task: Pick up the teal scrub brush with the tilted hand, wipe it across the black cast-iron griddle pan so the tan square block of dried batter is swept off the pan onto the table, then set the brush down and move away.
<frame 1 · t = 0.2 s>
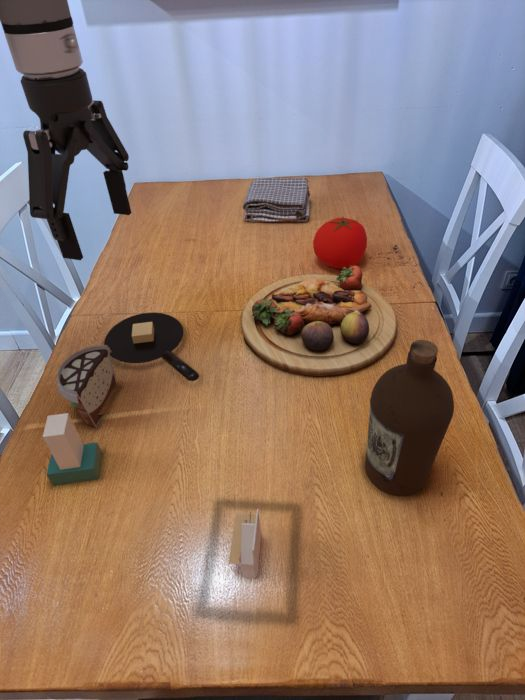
hand: (99, 234, 72), 31 cm above the table, tool pointing down, fingers open, 13 cm apart
pan: (145, 341, 101), on the table
towel: (278, 213, 142), on the table
tomato: (339, 263, 120), on the table
architectural model: (251, 557, 66), on the table
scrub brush: (78, 469, 78), on the table
brown bottle: (394, 470, 75), on the table
tan square block: (144, 336, 100), point 1 cm above the table, touching pan
wooden plate: (317, 325, 102), on the table
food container: (92, 406, 88), on the table
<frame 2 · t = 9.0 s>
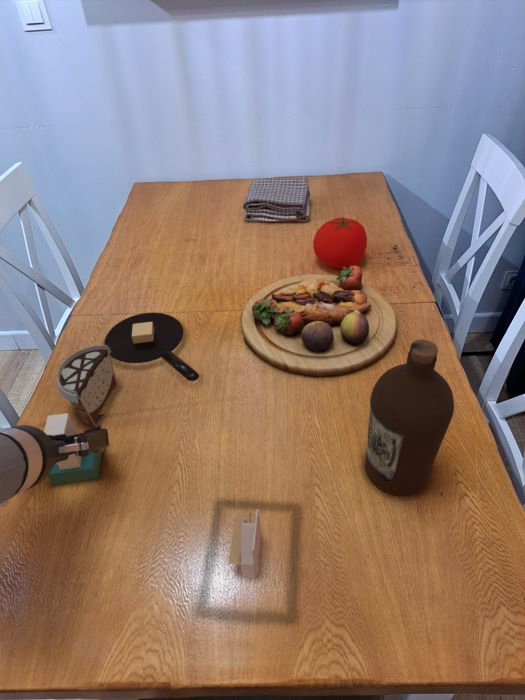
hand: (74, 438, 78), 4 cm above the table, tool tilted 45°, fingers closed on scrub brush, 7 cm apart
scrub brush: (78, 469, 78), on the table, touching gripper
everything else where it was.
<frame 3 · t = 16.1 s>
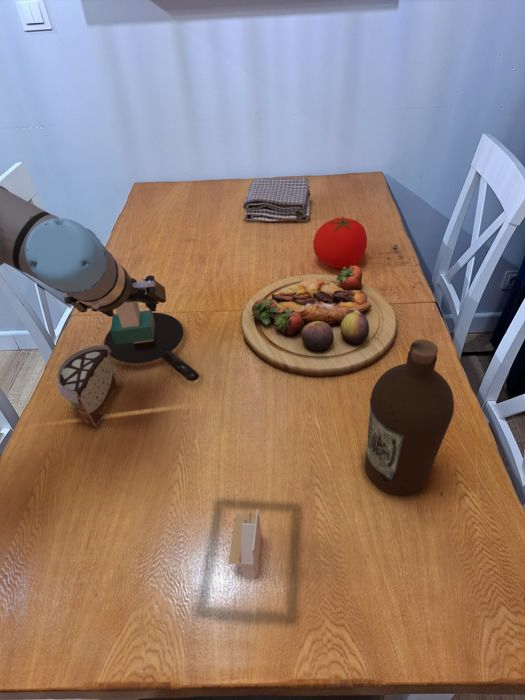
hand: (131, 306, 90), 12 cm above the table, tool tilted 45°, fingers closed on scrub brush, 7 cm apart
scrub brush: (135, 333, 89), point 8 cm above the table, touching gripper
everything else where it was.
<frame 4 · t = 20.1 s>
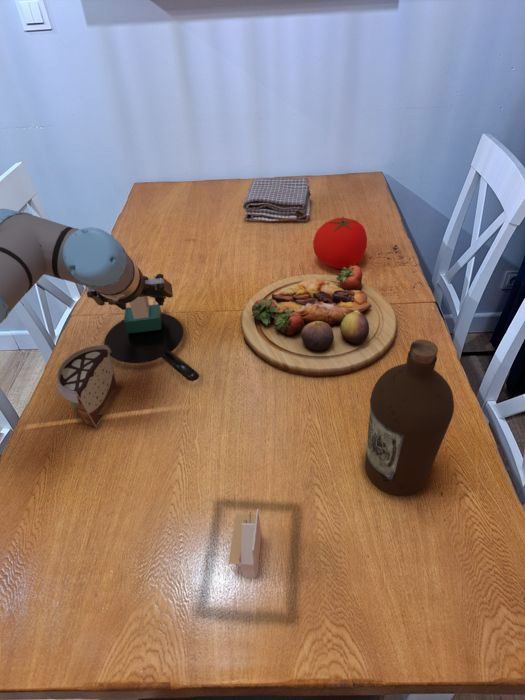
hand: (142, 301, 102), 5 cm above the table, tool tilted 45°, fingers closed on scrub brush, 7 cm apart
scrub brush: (144, 324, 102), point 2 cm above the table, touching tan square block, gripper
tan square block: (145, 313, 105), point 2 cm above the table, touching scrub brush
everything else where it was.
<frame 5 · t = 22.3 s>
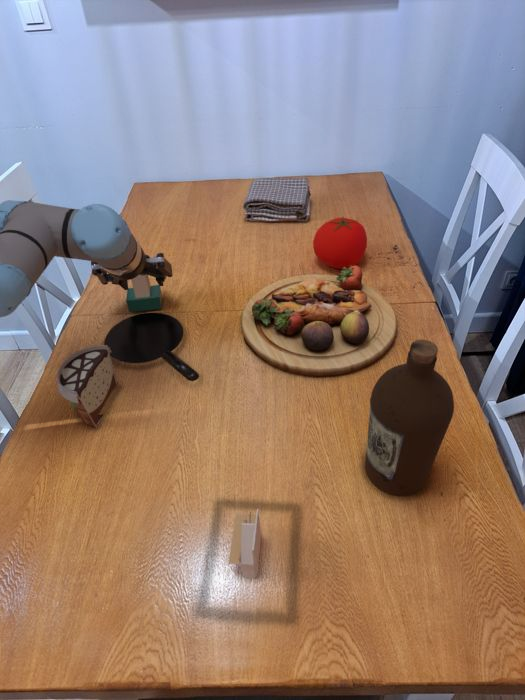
hand: (143, 282, 108), 5 cm above the table, tool tilted 45°, fingers closed on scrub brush, 7 cm apart
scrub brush: (145, 304, 107), point 2 cm above the table, touching tan square block, gripper
tan square block: (148, 299, 112), on the table, touching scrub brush
everything else where it was.
when the fingers open (4 cm above the table, at t = 23.3 s): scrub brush stays where it is, on the table.
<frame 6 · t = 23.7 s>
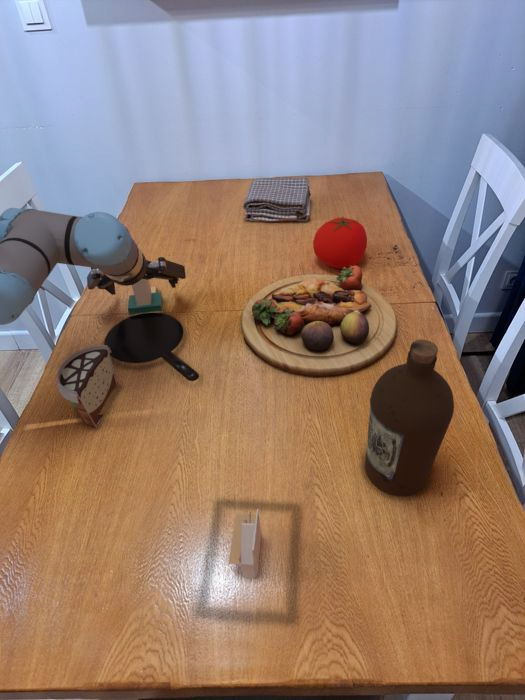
hand: (143, 285, 107), 5 cm above the table, tool tilted 45°, fingers open, 12 cm apart
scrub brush: (147, 311, 108), on the table
tan square block: (148, 299, 112), on the table
everything else where it was.
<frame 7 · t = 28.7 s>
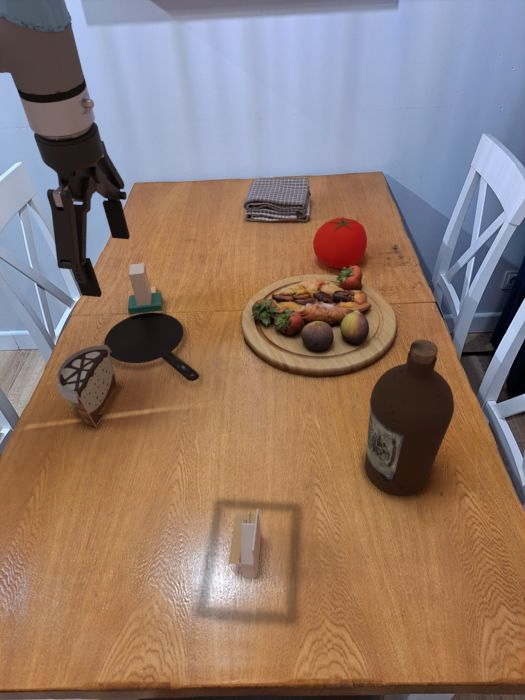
hand: (107, 264, 75), 25 cm above the table, tool pointing down, fingers open, 13 cm apart
nothing on the table moved.
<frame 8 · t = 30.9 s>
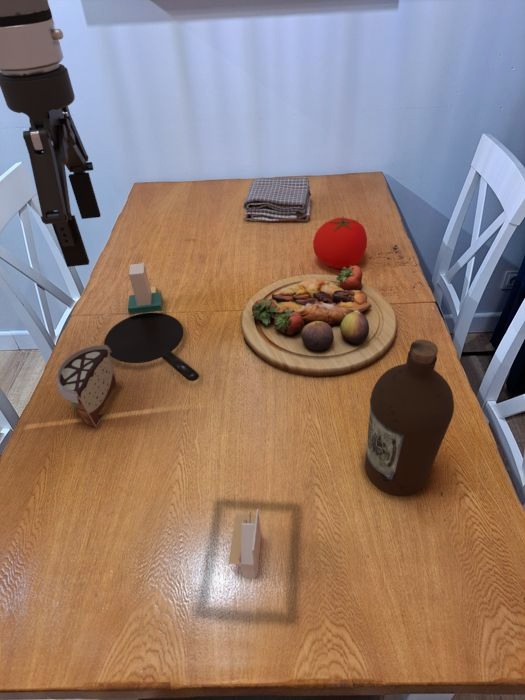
hand: (85, 239, 68), 32 cm above the table, tool pointing down, fingers open, 13 cm apart
nothing on the table moved.
at the end: tan square block on the table; tan square block inside the target area on the table beside the pan (2.9 cm from its centre), on the table; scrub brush tilted 0° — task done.
